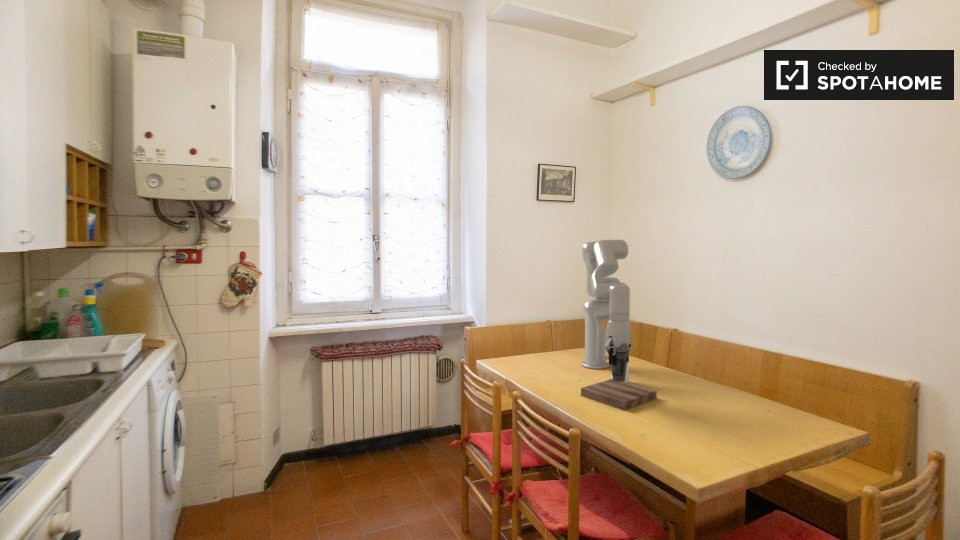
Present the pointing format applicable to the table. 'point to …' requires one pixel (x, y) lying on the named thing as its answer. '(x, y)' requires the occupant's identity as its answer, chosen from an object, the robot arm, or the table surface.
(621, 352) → the beverage cup
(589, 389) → the walnut base board
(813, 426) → the table surface
